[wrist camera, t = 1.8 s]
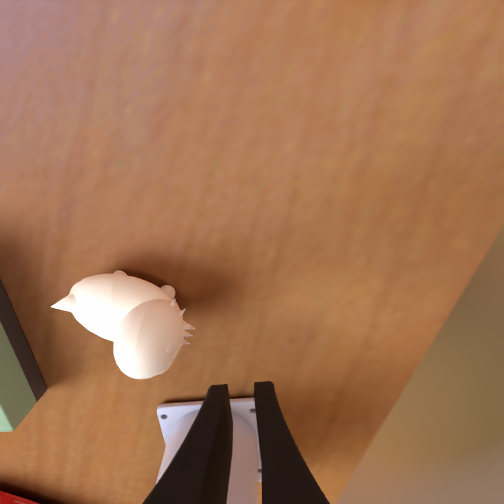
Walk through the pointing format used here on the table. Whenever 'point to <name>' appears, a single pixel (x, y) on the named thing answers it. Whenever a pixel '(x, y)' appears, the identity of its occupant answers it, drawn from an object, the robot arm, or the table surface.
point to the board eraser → (16, 370)
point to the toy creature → (131, 320)
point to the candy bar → (13, 499)
